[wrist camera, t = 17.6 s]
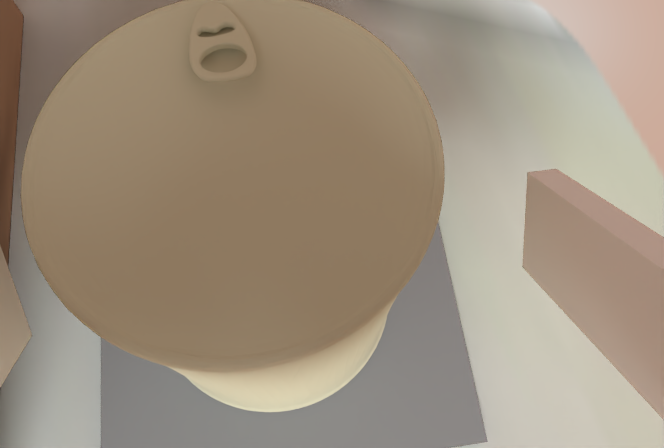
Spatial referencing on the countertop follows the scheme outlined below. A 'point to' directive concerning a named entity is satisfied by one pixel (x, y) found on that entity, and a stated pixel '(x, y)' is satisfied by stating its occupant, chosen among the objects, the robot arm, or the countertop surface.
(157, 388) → the mat
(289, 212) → the can
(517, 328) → the countertop surface
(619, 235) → the robot arm
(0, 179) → the rack
